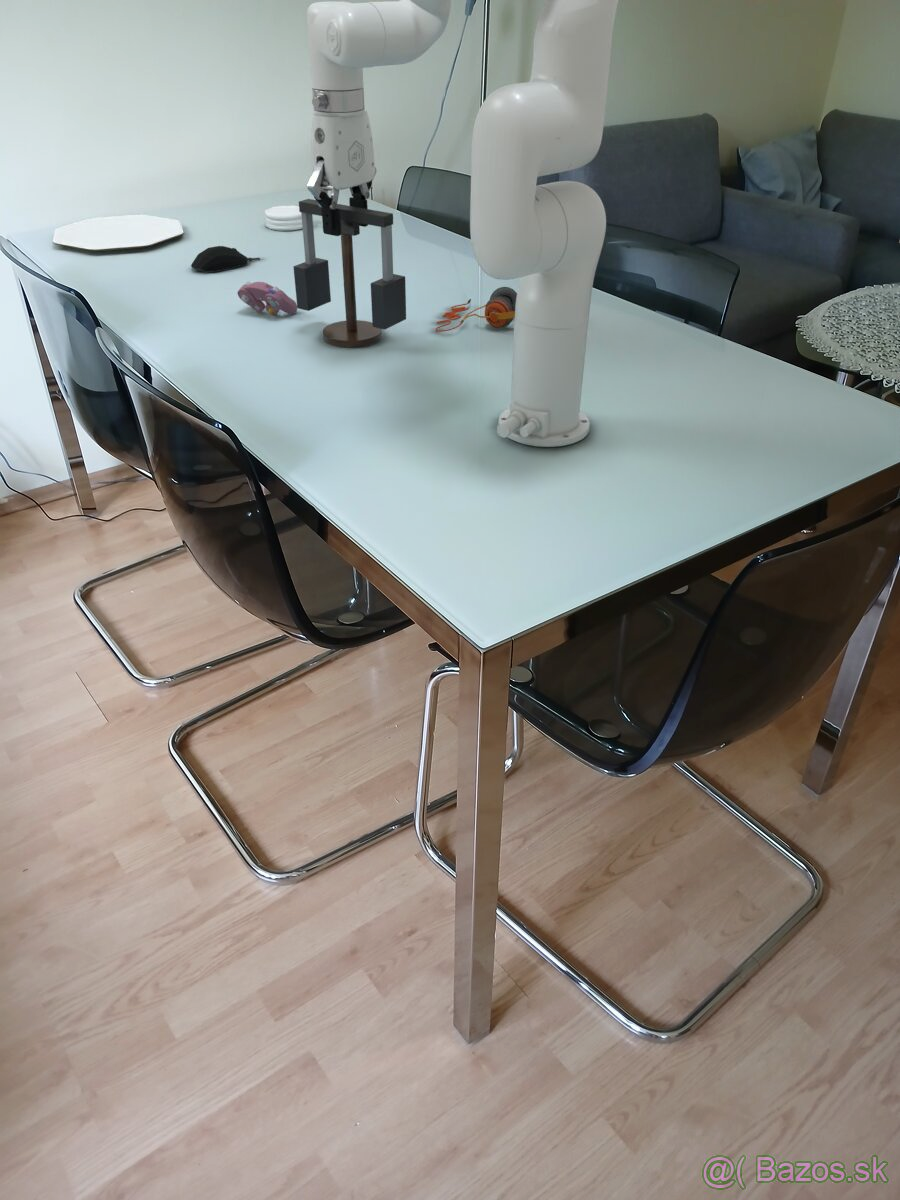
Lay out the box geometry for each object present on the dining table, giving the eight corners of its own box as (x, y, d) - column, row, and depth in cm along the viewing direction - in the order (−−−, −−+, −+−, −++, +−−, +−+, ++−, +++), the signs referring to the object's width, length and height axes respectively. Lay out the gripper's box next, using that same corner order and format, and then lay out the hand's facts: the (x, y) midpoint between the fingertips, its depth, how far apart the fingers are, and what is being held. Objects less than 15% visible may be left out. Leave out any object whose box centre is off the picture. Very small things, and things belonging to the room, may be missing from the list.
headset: (384, 329, 146) (380, 219, 136) (297, 308, 155) (287, 203, 145) (406, 319, 150) (403, 211, 141) (320, 298, 159) (311, 195, 149)
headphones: (433, 348, 158) (547, 330, 152) (426, 318, 155) (541, 299, 149) (452, 316, 171) (557, 299, 165) (446, 288, 168) (553, 270, 162)
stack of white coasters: (294, 218, 219) (293, 202, 217) (317, 226, 213) (315, 210, 211) (257, 225, 214) (256, 209, 212) (280, 233, 208) (278, 217, 206)
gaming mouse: (266, 263, 189) (264, 243, 187) (200, 275, 182) (196, 255, 180) (252, 256, 193) (250, 236, 191) (187, 268, 186) (183, 247, 184)
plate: (57, 226, 212) (55, 219, 211) (178, 218, 218) (177, 211, 218) (52, 259, 191) (51, 252, 190) (187, 249, 197) (186, 241, 196)
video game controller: (245, 318, 167) (229, 288, 161) (257, 300, 168) (242, 270, 162) (289, 327, 163) (274, 297, 157) (301, 309, 165) (287, 278, 159)
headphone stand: (357, 352, 149) (350, 229, 138) (310, 339, 154) (300, 220, 142) (393, 334, 156) (389, 216, 145) (347, 323, 160) (340, 207, 149)
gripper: (320, 111, 126) (329, 246, 137) (393, 97, 138) (397, 222, 149) (279, 106, 130) (291, 238, 140) (354, 93, 141) (360, 215, 152)
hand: (346, 228), depth 144 cm, fingers open, 6 cm apart
